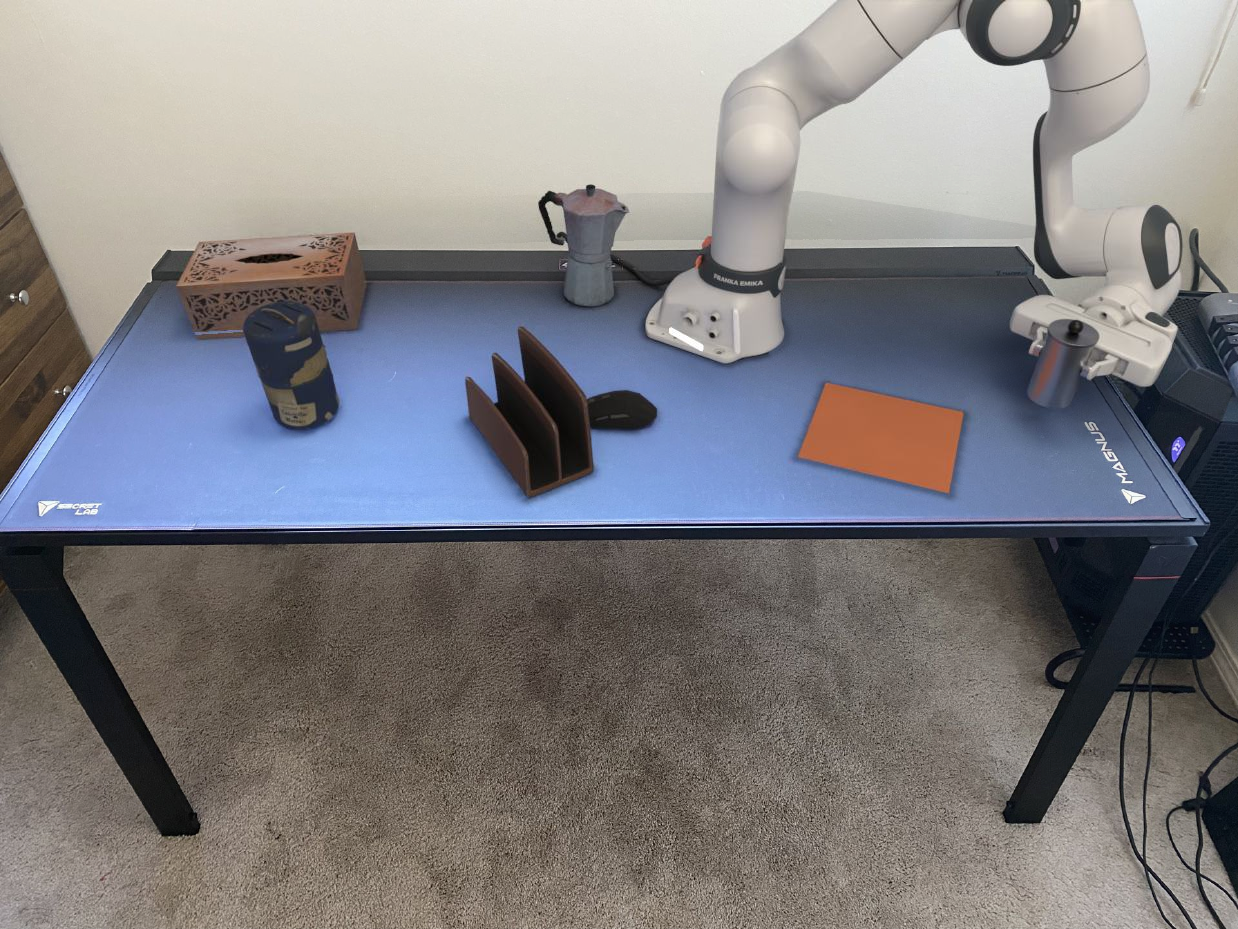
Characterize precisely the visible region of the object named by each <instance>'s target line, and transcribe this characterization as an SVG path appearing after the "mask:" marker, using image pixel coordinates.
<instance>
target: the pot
mask: <svg viewBox="0 0 1238 929" xmlns="http://www.w3.org/2000/svg"><path fill="white" fill-rule="evenodd" d="M1047 332H1048V334H1047V337H1046V339H1045V342H1044V345H1043V348H1042V351H1041V353H1040V356H1039V358H1038V359H1037V362H1036V365H1035V368H1034V369H1033V373H1032V375H1031V378H1030V381H1029V384H1028V387H1027V390H1026V394H1027V397H1028V398H1029V399H1030V400H1031V401H1032V402H1033V403H1035V404H1037V405H1038V406H1040V407H1042V408H1043V407H1044V408H1047V409H1051V410H1052V409H1053V410H1060V409H1064V408H1068V407H1069V406H1070V405H1071V404H1072V403H1073V399H1074V397H1075V394H1076V392H1077V390H1078V386H1079V384H1080V382H1081V380H1082V378H1083V377H1082V376H1080V372H1082V367H1083V366H1084V365H1085V364H1087V362H1088V360H1089V358H1090V355H1091V353H1092V350H1093V348H1094V346H1095V345H1096V344H1097V343H1098V340H1099V333H1098V331H1097V330H1096V329H1095V328H1093V327H1092V326H1090V325H1089V324H1087V323H1084V322H1081V321H1080V320H1073V319H1059V320H1055V321H1053V322H1052V323H1050V324H1049V326H1048V329H1047Z"/></svg>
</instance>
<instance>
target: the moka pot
mask: <svg viewBox="0 0 1238 929" xmlns="http://www.w3.org/2000/svg"><path fill="white" fill-rule="evenodd" d="M550 202H551V203H552V204H554V205H555V206H557V207H558V206H559V207H561V208H562V210H563V218H564V225H565V233H566V234H567V241H568V244H567V250H568V253H567V259H566V260H567V261H566V269H565V276H564V281H563V282H564V283H563V296H564V297H565V299H567V301H569V302H571V303H573V304H575V305H578V306H582V307H597V306H602V305H604V304H606V303H608V302H610V301H611V300H612V298H613V297H614V296H615V289H614V280H613V279H614V278H613V269H612V268H613V267H612V260H611V258H610V254H612V248H613V247H614V244H615V243H614V242H615V237H616V232H617V231H618V229H619V227H620V226H621V223H622V221H623V219H624V218H625V216H626V215H627V214H629V213H630V209H629V206H626V204H625V203H622V202H620V201H619V200H618V196H617V194H614V193H612V192H609V191H607V190H604V189H603V188H596V185H594V184H592V183H590V184H586V186H585V188H577V189H576V190H573V191H571V192H569V193H565V192H558V193H557V192H555V191H552V190H547V192H545V193H544V195H542V197H541V198H540V200H538V201H537V205H538V211H539V213H540V215H541V216H540V217H541V219H542V220H543V224H544V226H545V229H546V232H547V235H548V238H549V241H550V243H551V244H553V245H558V246H565V245H564V244H565V243H566V241H565V240H564V239H560V238H558V237H556V235H557V234H556V233H555V231H554V230H553V224H552V220H551V218H550V216H549V212H548V209H547V207H546V205H547V204H548V203H550Z"/></svg>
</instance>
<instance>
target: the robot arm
mask: <svg viewBox="0 0 1238 929" xmlns="http://www.w3.org/2000/svg"><path fill="white" fill-rule="evenodd" d="M1142 27H1143V26H1142V23H1141V20H1140V16H1139V14H1138V11H1137V8H1136V4H1135V3H1134V0H836V1H834V2H833V3H832V4H831V5H830V6H829V7H828V8H827V9H826V10H825V11H824V12H823V13H821V14H820V15H819V16H818V17H816V19H815V20H814V21H812V23H810V24H808V26H807V27H806V28H804V29H803V30H802V31H801V32H799V33H798V34H797V35H795V37H793V38H792V39H790V40H789V41H787V42H785V43H784V44H783V45H781V46H780V47H778V48H776V49H775V50H774V51H772V52H770V53H769V54H767V55H766V56H765V57H763V58H762V59H761V60H759V61H757V62H756V63H754V65H752V66H749V67H747V68H745V69H744V70H742V71H741V72H739V73H738V74H737V75H736V76H735V77H734V78H733V79H732V81H731V82H730V83H729V85H728V87H727V88H726V90H725V91H724V93H723V95H722V98H721V101H720V107H719V116H718V123H717V124H718V125H717V136H716V148H715V150H716V151H715V166H714V168H715V169H714V186H713V203H712V204H713V205H712V206H713V207H712V208H713V209H712V222H711V235H708V236H706V238H704V241H703V242H702V243H701V248H700V250H699V251H698V253H697V258H696V259H695V266H694V267H692V268H689V269H688V270H686V271H683V272H681V273H679V274H677V273H676V274H675V275H674V276H675V277H667V278H662V279H659V280H654V279H650V278H648V277H647V276H645V275H644V274H643V273H642V272H641V270H640V269H638V268H637V267H636V266H635V265H633V264H631V263H630V262H628V261H626V260H624V259H622V258H621V257H619V256H616V255H615V254H612V253H611V254H610V258H611V261H613V262H615V263H617V264H619V265H621V266H623V267H625V269H627V270H629V271H631V272H632V273H633V274H634V275H635V276H637V278H638V279H640V280H641V282H643V283H644V284H647V285H649V286H653V287H660V286H664V285H668V286H667V287H666V289H665V291H664V293H663V295H662V297H661V298H660V299H658V301H657V302H655V304H654V305H653V306H652V308H651V309H650V310H649V312H648V314H647V316H646V319H645V325H644V331H645V335H646V336H647V337H648V338H649V339H652V340H655V341H657V342H660V343H663V344H666V345H670V346H672V347H675V348H678V349H680V350H683V351H687V352H690V353H693V354H695V355H698V356H700V357H704V358H706V359H709V360H712V361H715V362H718V363H720V364H731V363H733V362H736V361H738V360H740V359H742V358H748V357H755V356H760V355H764V354H766V353H769V352H770V351H772V350H774V349H775V348H777V347H778V346H779V345H780V344H781V343H782V342H783V340H784V338H785V329H784V324H783V319H782V318H783V317H782V309H781V308H782V307H781V306H782V305H781V304H782V303H781V292H782V290H783V289H784V284H785V277H786V270H787V266H786V261H787V255H786V252H785V246H786V238H787V237H786V236H787V229H788V222H789V221H788V220H789V215H790V214H789V213H790V206H791V201H792V197H793V191H794V187H795V181H796V176H797V170H798V163H799V156H800V150H801V130H802V129H803V128H804V127H805V126H806V125H807V124H808V123H809V122H811V121H813V120H814V119H816V118H818V117H819V116H822V115H823V114H825V113H826V112H829V111H831V110H832V109H835V108H836V107H838V106H839V107H840V106H841V105H847V104H850V103H852V102H854V101H855V100H856V99H858V98H859V97H861V95H863V94H864V93H865V92H867V91H868V90H869V89H870V88H871V87H873V86H874V85H875V84H876V83H877V82H878V81H880V80H881V79H882V78H883V77H884V76H886V75H887V74H888V73H889V72H891V71H892V70H893V69H894V68H896V67H897V66H898V65H899V64H900V63H901V62H903V61H904V59H907V57H909V56H910V55H912V53H913V52H915V51H916V50H917V49H918V48H919V47H920V46H921V45H922V44H923V43H924V42H925V41H928V40H929V39H931V38H934V36H937V35H939V34H941V33H943V32H947V31H952V30H959V31H960V33H961V35H962V36H963V38H964V39H965V40H966V41H967V42H966V43H968V45H969V46H970V48H971V50H972V52H974V54H976V55H977V56H978V57H979V58H981V59H982V60H983V61H986V62H987V63H989V64H992V65H995V66H1001V67H1013V66H1020V65H1024V64H1028V63H1031V62H1036V61H1042V62H1043V64H1044V67H1045V73H1046V79H1047V85H1048V89H1049V105H1048V109H1047V110H1046V111H1045V112H1044V113H1042V114H1041V116H1040V117H1039V118H1038V120H1037V122H1036V125H1035V127H1034V132H1033V139H1032V172H1033V173H1032V174H1033V175H1032V176H1033V191H1034V194H1033V195H1034V211H1035V228H1034V237H1033V238H1034V240H1033V256H1034V260H1035V263H1036V264H1037V266H1038V267H1039V268H1040V269H1041V270H1042V271H1043V272H1044V273H1045V274H1046V275H1047V276H1048V277H1050V278H1051V279H1053V280H1066V279H1076V278H1078V279H1079V278H1083V277H1085V278H1086V277H1087V278H1089V277H1105V278H1106V280H1105V283H1104V284H1103V285H1102V286H1100V287H1099V288H1097V289H1096V290H1094V291H1093V292H1092V293H1091V294H1090V295H1088V296H1087V297H1086V298H1084V299H1083V300H1082V301H1080V303H1078V305H1076V304H1074V303H1071V302H1069V301H1066V300H1064V299H1061V298H1058V297H1056V296H1053V295H1050V294H1039V295H1034V296H1033V297H1030V298H1028V299H1026V300H1024V301H1022V302H1021V303H1020V304H1017V305H1016V306H1015V307H1014V309H1013V311H1012V314H1011V316H1010V320H1009V329H1010V331H1011V332H1012V333H1014V334H1017V335H1019V336H1021V337H1023V338H1027V339H1028V340H1031V341H1032V343H1031V345H1030V347H1029V350H1028V354H1029V355H1031V356H1033V357H1036V358H1038V359H1039V356H1040V353H1041V351H1042V348H1043V345H1044V342H1045V339H1046V337H1047V334H1048V332H1047V329H1048V326H1049V324H1050V323H1052V322H1053V321H1055V320H1059V319H1073V320H1080V321H1081V322H1084V323H1087V324H1089V325H1090V326H1092V327H1093V328H1095V329H1096V330H1097V331H1098V333H1099V340H1098V343H1097V344H1096V345H1095V346H1094V348H1093V350H1092V353H1091V355H1090V358H1089V360H1088V362H1087V364H1085V365H1084V366H1083V367H1082V372H1080V376H1082V377H1081V378H1084V379H1086V380H1088V381H1091V380H1092V379H1094V378H1095V377H1100V376H1110V375H1112V376H1115V377H1117V378H1119V379H1122V380H1124V381H1126V382H1129V383H1130V384H1133V385H1135V386H1138V387H1141V388H1146V387H1152V386H1153V384H1154V383H1155V382H1156V380H1157V379H1158V378H1159V376H1160V375H1161V372H1162V370H1163V368H1164V366H1165V364H1166V362H1167V360H1168V358H1169V355H1170V353H1171V352H1172V349H1173V344H1174V342H1175V339H1176V336H1177V333H1178V329H1179V327H1178V326H1177V325H1176V324H1175V323H1174V322H1172V321H1170V320H1168V319H1167V318H1165V317H1164V315H1165V314H1166V313H1167V312H1168V310H1169V309H1170V308H1171V307H1172V305H1173V304H1174V302H1175V300H1176V299H1177V297H1178V295H1179V293H1180V290H1181V287H1182V273H1181V270H1180V267H1181V264H1182V259H1183V247H1184V246H1183V243H1184V242H1183V234H1182V229H1181V227H1180V225H1179V223H1178V222H1177V220H1176V219H1175V218H1174V217H1173V214H1171V213H1170V212H1169V211H1168V210H1167V209H1166V208H1164V207H1163V206H1161V205H1159V204H1146V205H1145V204H1143V205H1126V206H1118V207H1102V208H1101V207H1100V208H1083V207H1080V206H1079V205H1077V204H1075V203H1074V194H1073V193H1074V192H1073V187H1074V186H1073V157H1074V156H1075V155H1076V154H1078V153H1080V152H1082V151H1083V150H1086V149H1088V148H1089V147H1091V146H1094V145H1096V144H1098V143H1100V142H1102V141H1104V140H1106V139H1108V138H1109V137H1111V136H1113V135H1114V134H1116V133H1118V132H1119V131H1120V130H1122V129H1123V128H1124V127H1125V126H1126V125H1128V124H1129V123H1130V122H1131V121H1132V120H1133V119H1134V118H1135V117H1136V115H1138V113H1139V112H1140V110H1141V109H1142V108H1143V106H1144V104H1145V103H1146V100H1147V98H1148V96H1149V92H1150V85H1151V84H1150V83H1151V72H1150V63H1149V57H1148V52H1147V51H1148V50H1147V46H1146V41H1145V40H1146V39H1145V36H1144V31H1143V28H1142ZM555 235H556V238H557V239H560V238H562V239H563V240H564V242H565V243H566V244H567V245H568V241H567V234H566V232H565V231H559V232H558V233H557V234H555ZM618 259H619V260H618ZM633 268H636V269H637V270H638V271H637V270H635V269H633Z"/></svg>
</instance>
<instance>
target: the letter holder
mask: <svg viewBox="0 0 1238 929" xmlns="http://www.w3.org/2000/svg"><path fill="white" fill-rule="evenodd" d="M517 337H518V344H519V351H520V356H521V364H522V370H523V378H524V379H523V378H522V377H521V376H520V374H518V372H517V371H516V370H515V369H514V368H513V367H512V366H511V365H510V364H509V363H508V362H507V361H506V360H505V359H504V358H503V357H502V356H501V355H500V354H498V352H493V353H491V362H492V363H491V364H492V369H493V376H494V383H495V390H496V398H497V401H496V402H493V401H492V399H491V398H490V396H488V395H487V394H486V392H485V391H484V390H483V389H482V388H481V386H479V385H478V384H477V383H476V381H474V379H473V378H472V377H470V376H465V378H464V385H465V391H466V392H465V393H466V400H467V409H468V410H467V411H468V416H469V419H470V420H471V422H472V423H473V424H474V425H475V427H476V428H477V430H478V431H479V432H480V433H481V435H482V436H483V438H484V439H485V441H486V442H487V444H488V445H489V446H490V447H491V449H492V450H493V452H494V453H495V455H496V456H497V457H498V458H499V460H500V461H501V463H502V464H503V465H504V467H505V468H506V469H507V471H508V472H509V473H510V475H511V476H512V477H513V479H514V480H515V482H516V483H517V484H518V485H519V487H520V488H521V489H522V491H523V492H524V494H525V495H526V497H528V498H529V499H531V498H533V497H536V496H538V495H541V494H543V493H546V492H548V491H550V490H553V489H555V488H558V487H561V486H563V485H566V484H568V483H571V482H573V481H576V480H578V479H580V478H583V477H585V476H587V475H590V474H593V473H594V471H595V463H594V456H593V443H592V432H591V428H590V423H589V415H588V403H587V399H588V398H587V395H586V394H585V392H584V391H583V389H582V388H581V387H580V385H579V384H578V383H577V382H576V381H575V379H574V378H573V377H572V375H570V373H569V372H568V371H567V369H566V368H565V367H564V366H563V365H562V363H561V362H560V361H559V359H557V358H556V357H555V356H554V354H553V353H552V352H551V351H550V350H548V348H547V347H546V346H545V345H544V344H543V343H542V342H541V341H540V340H539V339H538V338H537V337H536V336H535V335H533V333H532V332H530V331H529V330H528V329H527V328H526V327H524V326H521V325H519V326H518V327H517Z"/></svg>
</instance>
